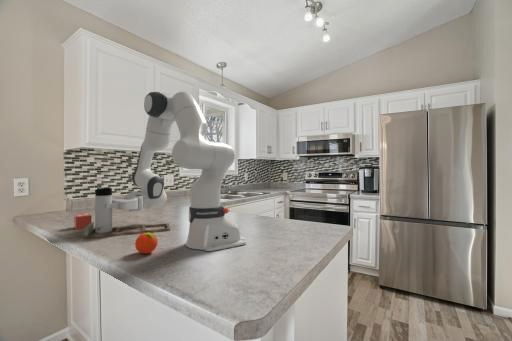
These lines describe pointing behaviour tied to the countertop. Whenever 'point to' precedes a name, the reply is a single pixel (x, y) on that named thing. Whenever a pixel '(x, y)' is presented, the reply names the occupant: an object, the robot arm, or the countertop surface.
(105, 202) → the travel mug
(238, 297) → the countertop surface
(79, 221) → the red die
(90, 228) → the wooden ladder frame
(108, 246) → the countertop surface
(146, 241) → the clementine
